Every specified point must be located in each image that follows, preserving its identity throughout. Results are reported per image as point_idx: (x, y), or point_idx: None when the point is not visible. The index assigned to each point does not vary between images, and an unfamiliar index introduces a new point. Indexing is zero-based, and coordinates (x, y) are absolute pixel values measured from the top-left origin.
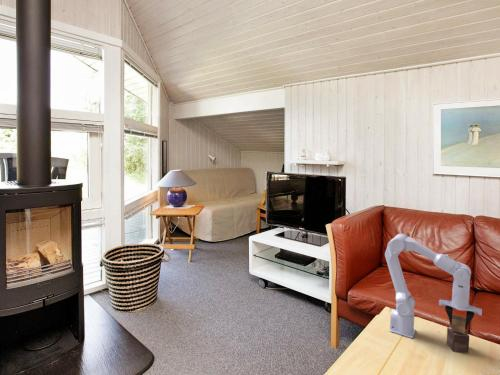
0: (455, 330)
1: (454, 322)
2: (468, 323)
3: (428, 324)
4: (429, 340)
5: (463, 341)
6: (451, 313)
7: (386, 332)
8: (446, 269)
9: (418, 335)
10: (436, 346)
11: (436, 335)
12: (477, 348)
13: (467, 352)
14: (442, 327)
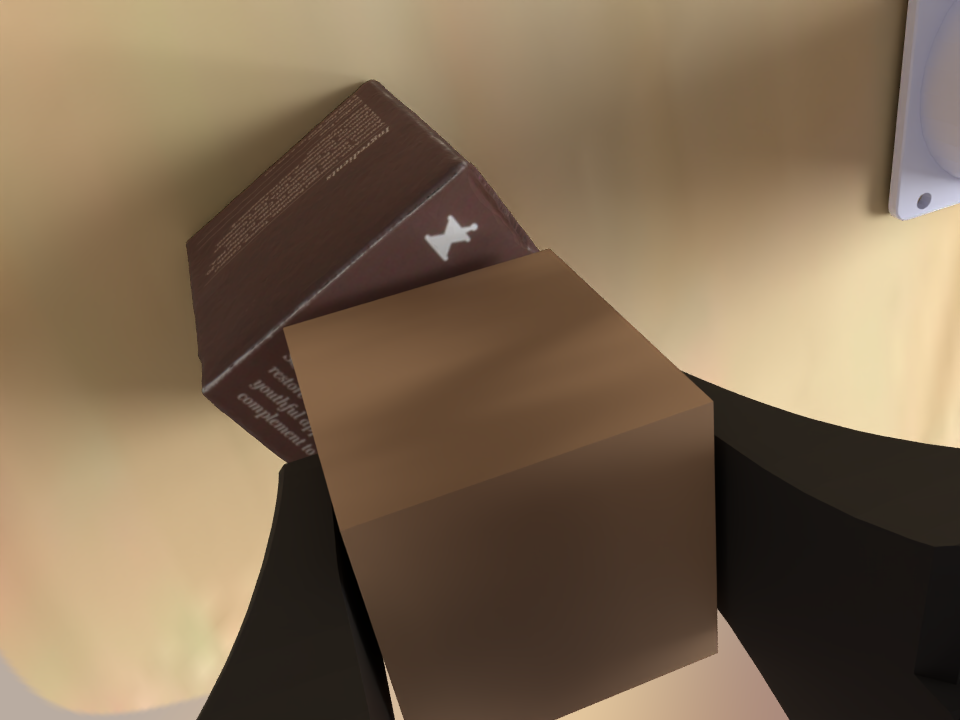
0: (477, 285)
1: (595, 375)
2: (263, 585)
3: None
4: (704, 112)
5: (271, 253)
6: (862, 509)
7: None
8: None
9: (843, 121)
10: (592, 17)
11: (655, 328)
12: (158, 471)
13: (196, 234)
14: None
